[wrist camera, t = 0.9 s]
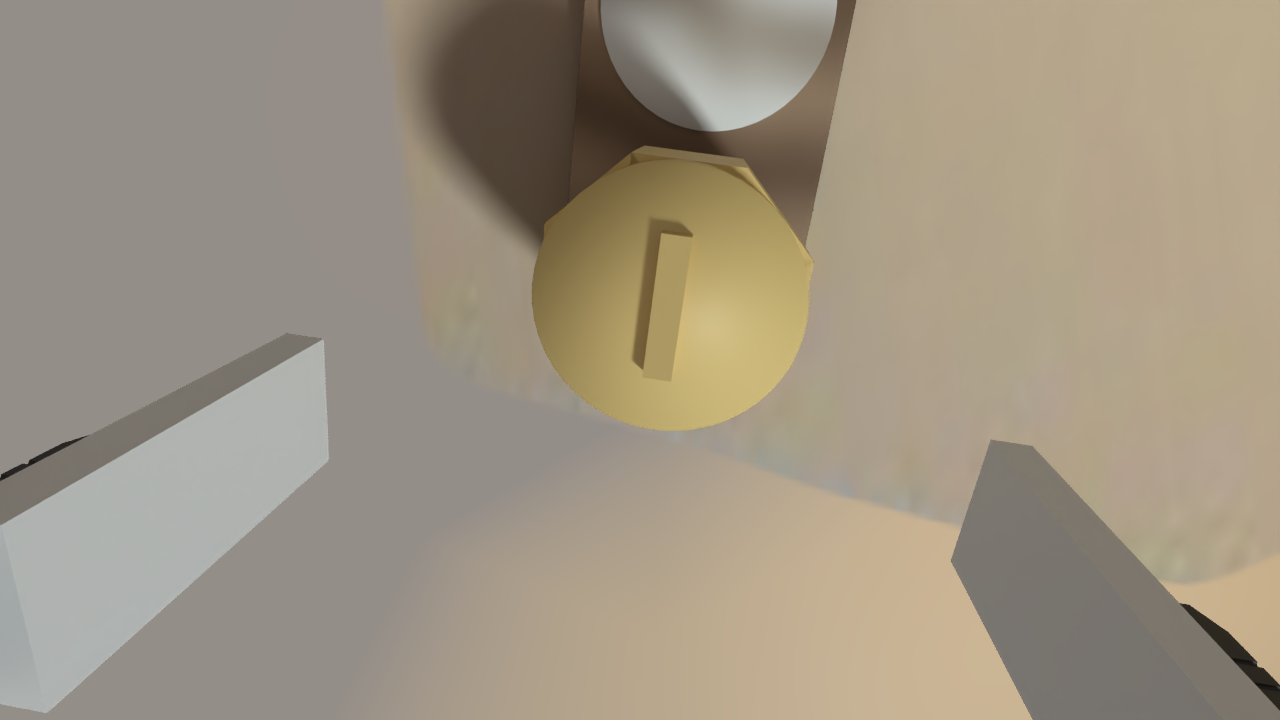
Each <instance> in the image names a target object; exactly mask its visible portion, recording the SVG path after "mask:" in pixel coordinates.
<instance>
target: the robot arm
mask: <svg viewBox="0 0 1280 720" xmlns="http://www.w3.org/2000/svg"><path fill="white" fill-rule="evenodd" d="M328 460H329V450H328V426H327V404H326V383H325V361H324V339H321V338H315V337H308V336H301V335H295V334H288V333H287V334H285V335H283V336H281V337H279V338H277V339H275V340H273V341H271V342H269V343H267V344H265V345H263V346H261V347H259V348H258V349H256V350H254V351H252V352H250V353H248V354H246V355H244V356H242V357H240V358H238V359H236V360H234V361H233V362H230V363H229V364H227V365H225V366H223V367H221V368H219V369H217V370H215V371H213V372H211V373H209V374H207V375H205V376H203V377H201V378H200V379H197V380H196V381H194V382H192V383H190V384H188V385H186V386H184V387H182V388H180V389H178V390H176V391H174V392H172V393H170V394H168V395H166V396H164V397H163V398H161V399H159V400H157V401H155V402H153V403H151V404H149V405H147V406H145V407H143V408H141V409H139V410H137V411H136V412H133V413H132V414H130V415H128V416H126V417H124V418H122V419H120V420H118V421H116V422H114V423H112V424H110V425H109V426H106V427H104V428H103V429H101V430H99V431H97V432H95V433H93V434H91V435H88V436H85V437H81V438H79V439H75V440H72V441H69V442H65V443H62V444H60V445H59V446H56V447H54V448H52V449H50V450H49V451H46V452H44V453H43V454H41V455H39V456H37V457H35V458H33V459H31V460H29V463H28V464H21V465H19V466H17V467H15V468H13V469H11V470H9V471H7V472H5V473H3V474H1V478H0V704H3V705H8V706H14V707H19V708H24V709H29V710H34V711H40V712H45V713H48V712H49V711H50V710H51V709H52V708H53V707H54V706H55V705H56V704H58V702H60V701H61V700H62V699H63V698H64V697H65V696H66V695H67V694H68V693H70V692H71V691H72V690H73V689H74V688H75V687H77V686H78V685H79V684H80V683H81V682H82V681H83V680H84V679H85V678H86V677H88V676H89V675H90V674H91V673H92V672H93V671H94V670H95V669H97V668H98V667H99V666H100V665H101V664H102V663H103V662H104V661H105V660H106V659H108V658H109V657H110V656H111V655H112V654H113V653H114V652H116V651H117V650H118V649H119V648H120V647H121V646H122V645H123V644H124V643H126V642H127V641H128V640H129V639H130V638H131V637H132V636H133V635H134V634H135V633H137V632H138V631H139V630H140V629H141V628H142V627H143V626H145V625H146V624H147V623H148V622H149V621H150V620H151V619H152V618H153V617H155V616H156V615H157V614H158V613H159V612H160V611H161V610H162V609H163V608H165V607H166V606H167V605H168V604H169V603H170V602H171V601H172V600H173V599H175V598H176V597H177V596H178V595H179V594H180V593H181V592H182V591H184V590H185V589H186V588H187V587H188V586H189V585H190V584H191V583H192V582H194V581H195V580H196V579H197V578H198V577H199V576H200V575H201V574H202V573H204V572H205V571H206V570H207V569H208V568H209V567H210V566H211V565H212V564H214V563H215V562H216V561H217V560H218V559H219V558H220V557H221V556H223V555H224V554H225V553H226V552H227V551H228V550H229V549H230V548H231V547H233V546H234V545H235V544H236V543H237V542H238V541H239V540H240V539H241V538H243V537H244V536H245V535H246V534H247V533H248V532H249V531H250V530H251V529H253V528H254V527H255V526H256V525H257V524H258V523H259V522H260V521H261V520H263V519H264V518H265V517H266V516H267V515H268V514H269V513H270V512H272V511H273V510H274V509H275V508H276V507H277V506H278V505H279V504H280V503H282V502H283V501H284V500H285V499H286V498H287V497H288V496H289V495H291V494H292V493H293V492H294V491H295V490H296V489H297V488H298V487H299V486H300V485H302V484H303V483H304V482H305V481H306V480H307V479H308V478H309V477H310V476H312V475H313V474H314V473H315V472H316V471H317V470H318V469H319V468H321V467H322V466H323V465H324V464H325V463H326V462H327V461H328ZM951 562H952V564H953V566H954V568H955V570H956V572H957V574H958V575H959V577H960V579H961V581H962V583H963V585H964V587H965V589H966V591H967V593H968V595H969V597H970V599H971V601H972V603H973V605H974V607H975V609H976V610H977V612H978V614H979V616H980V618H981V620H982V622H983V624H984V626H985V628H986V630H987V632H988V634H989V636H990V638H991V639H992V642H993V643H994V645H995V647H996V649H997V651H998V653H999V655H1000V657H1001V659H1002V661H1003V663H1004V665H1005V667H1006V669H1007V671H1008V672H1009V674H1010V676H1011V678H1012V680H1013V682H1014V684H1015V686H1016V688H1017V690H1018V692H1019V694H1020V696H1021V698H1022V700H1023V702H1024V704H1025V706H1026V707H1027V709H1028V711H1029V713H1030V715H1031V717H1032V719H1033V720H1280V685H1279V684H1278V683H1277V682H1276V681H1275V680H1274V679H1273V678H1272V677H1271V676H1270V674H1269V673H1268V672H1266V670H1265V669H1264V668H1260V667H1258V666H1257V661H1256V660H1255V659H1254V658H1253V657H1252V656H1251V655H1250V654H1249V653H1248V652H1247V651H1246V650H1245V649H1244V648H1243V647H1242V646H1241V645H1240V644H1239V643H1238V642H1237V641H1236V640H1235V639H1234V638H1233V637H1232V636H1231V635H1230V634H1229V632H1227V631H1226V630H1224V629H1223V628H1221V627H1220V626H1219V625H1217V624H1216V623H1214V622H1213V621H1211V620H1210V619H1209V618H1207V617H1206V616H1204V615H1203V614H1201V613H1200V612H1198V611H1197V610H1196V609H1194V608H1193V607H1191V606H1190V605H1187V604H1181V603H1179V602H1178V601H1177V600H1176V599H1175V598H1174V597H1173V596H1172V595H1171V594H1170V593H1169V592H1168V591H1167V590H1166V589H1165V587H1164V586H1163V585H1162V584H1161V583H1160V582H1159V581H1158V580H1157V579H1156V578H1155V577H1154V576H1153V575H1152V574H1151V572H1150V571H1149V570H1148V569H1147V568H1146V567H1145V566H1144V565H1143V564H1142V563H1141V562H1140V561H1139V560H1138V559H1137V557H1136V556H1135V555H1134V554H1133V553H1132V552H1131V551H1130V550H1129V549H1128V548H1127V547H1126V546H1125V545H1124V544H1123V543H1122V541H1121V540H1120V539H1119V538H1118V537H1117V536H1116V535H1115V534H1114V533H1113V532H1112V531H1111V530H1110V529H1109V528H1108V526H1107V525H1106V524H1105V523H1104V522H1103V521H1102V520H1101V519H1100V518H1099V517H1098V516H1097V515H1096V514H1095V513H1094V511H1093V510H1092V509H1091V508H1090V507H1089V506H1088V505H1087V504H1086V503H1085V502H1084V501H1083V500H1082V499H1081V498H1080V497H1079V495H1078V494H1077V493H1076V492H1075V491H1074V490H1073V489H1072V488H1071V487H1070V486H1069V485H1068V484H1067V483H1066V482H1065V480H1064V479H1063V478H1062V477H1061V476H1060V475H1059V474H1058V473H1057V472H1056V471H1055V470H1054V469H1053V468H1052V467H1051V465H1050V464H1049V463H1048V462H1047V461H1046V460H1045V459H1044V458H1043V457H1042V456H1041V455H1040V454H1039V453H1038V452H1037V451H1036V449H1035V448H1034V447H1033V446H1029V445H1022V444H1016V443H1009V442H1002V441H996V440H991V441H990V444H989V447H988V450H987V453H986V456H985V459H984V462H983V465H982V468H981V471H980V474H979V477H978V480H977V483H976V486H975V489H974V492H973V495H972V498H971V501H970V504H969V507H968V510H967V513H966V516H965V519H964V522H963V525H962V528H961V531H960V534H959V538H958V541H957V544H956V547H955V550H954V553H953V556H952V559H951Z"/></svg>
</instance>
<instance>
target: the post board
mask: <svg viewBox="0 0 1280 720" xmlns="http://www.w3.org/2000/svg"><path fill="white" fill-rule="evenodd" d="M855 4H856V0H585V4H584V16H583V28H582V40H581V52H580V64H579V76H578V88H577V100H576V112H575V124H574V136H573V148H572V160H571V172H570V184H569V196H568V204H569V203H570V202H571V201H572V200H573V199H574V198H575V197H576V196H577V195H578V194H579V193H581V192H582V191H583V190H585V189H586V188H588V187H589V186H590V185H592V184H593V183H594V182H596V181H597V180H598V179H599V178H601V177H602V176H603V175H604V174H605V173H607V172H608V171H609V170H610V169H612V168H613V167H614V166H615V165H616V164H618V163H619V162H620V161H621V160H623V159H624V158H625V157H626V156H627V155H629V154H630V153H631V152H633V151H635V150H637V149H639V148H641V147H643V146H652V147H659V148H667V149H674V150H682V151H689V152H697V153H704V154H712V155H719V156H727V157H734V158H741V159H744V160H745V162H746V163H747V164H748V166H749V167H750V169H751V170H752V171H753V173H754V174H755V176H756V177H757V179H758V180H759V181H760V183H761V184H762V186H763V187H764V188H765V190H766V191H767V193H768V194H769V196H770V197H771V198H772V200H773V201H774V203H775V204H776V205H777V207H778V208H779V210H780V211H781V213H782V214H783V215H784V217H785V218H786V220H787V221H788V222H789V224H790V225H791V227H792V228H793V230H794V231H795V232H796V234H797V235H798V237H799V238H800V239H801V241H802V243H803V244H804V246H805V245H806V240H807V235H808V230H809V225H810V221H811V216H812V211H813V206H814V201H815V197H816V192H817V187H818V182H819V177H820V173H821V168H822V163H823V158H824V153H825V149H826V144H827V139H828V134H829V129H830V124H831V120H832V115H833V110H834V105H835V100H836V96H837V91H838V86H839V81H840V76H841V72H842V67H843V62H844V57H845V52H846V47H847V43H848V38H849V33H850V28H851V23H852V19H853V14H854V9H855Z"/></svg>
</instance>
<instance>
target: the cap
mask: <svg viewBox="0 0 1280 720" xmlns="http://www.w3.org/2000/svg"><path fill="white" fill-rule="evenodd" d="M813 264H814V261H813V259H812V257H811V256H810V254H809V252H808V251H807V249H806V248H805V246H804V244H803V243H802V241H801V239H800V238H799V237H798V235H797V234H796V232H795V231H794V230H793V228H792V227H791V225H790V224H789V222H788V221H787V220H786V218H785V217H784V215H783V214H782V213H781V211H780V210H779V208H778V207H777V205H776V204H775V203H774V201H773V200H772V198H771V197H770V196H769V194H768V193H767V191H766V190H765V188H764V187H763V186H762V184H761V183H760V181H759V180H758V179H757V177H756V176H755V174H754V173H753V171H752V170H751V169H750V167H749V166H748V164H747V163H746V162H745V160H744V159H741V158H734V157H727V156H719V155H712V154H704V153H697V152H689V151H682V150H674V149H667V148H659V147H652V146H643V147H641V148H639V149H637V150H635V151H633V152H631V153H630V154H629V155H627V156H626V157H625V158H624V159H623V160H621V161H620V162H619V163H618V164H616V165H615V166H614V167H613V168H612V169H610V170H609V171H608V172H607V173H605V174H604V175H603V176H602V177H601V178H599V179H598V180H597V181H596V182H594V183H593V184H592V185H590V186H589V187H588V188H586V189H585V190H583V191H582V192H581V193H579V194H578V195H577V196H576V197H575V198H574V199H573V200H572V201H571V202H570V203H569V204H568V205H566V206H565V207H564V208H563V209H561V210H560V211H559V212H558V213H557V214H555V215H554V216H553V217H552V218H550V219H549V220H548V221H547V222H545V223H544V236H543V243H542V246H541V248H540V250H539V253H538V257H537V261H536V264H535V268H534V275H533V282H532V306H533V314H534V321H535V324H536V328H537V332H538V336H539V338H540V341H541V343H542V346H543V348H544V351H545V353H546V355H547V356H548V358H549V360H550V362H551V363H552V365H553V367H554V368H555V370H556V371H557V372H558V374H559V375H560V376H561V378H562V379H563V380H564V381H565V383H566V384H567V385H568V386H569V387H570V388H571V389H572V390H573V391H574V392H575V393H576V394H577V395H579V396H580V397H581V398H582V399H583V400H585V401H586V402H587V403H588V404H590V405H591V406H593V407H594V408H596V409H598V410H599V411H601V412H602V413H604V414H606V415H608V416H610V417H612V418H615V419H617V420H619V421H622V422H625V423H628V424H631V425H633V426H638V427H642V428H647V429H653V430H663V431H684V430H691V429H698V428H703V427H707V426H711V425H715V424H718V423H720V422H723V421H725V420H728V419H730V418H733V417H735V416H737V415H738V414H740V413H742V412H744V411H746V410H747V409H749V408H750V407H752V406H753V405H754V404H756V403H757V402H759V401H760V400H761V399H762V398H764V397H765V396H766V395H767V394H768V393H769V392H770V391H771V390H772V389H773V388H774V387H775V386H776V385H777V383H778V382H779V381H780V380H781V378H782V377H783V376H784V375H785V373H786V372H787V370H788V369H789V368H791V367H792V362H793V360H794V359H795V356H796V354H797V352H798V350H799V347H800V345H801V343H802V339H803V336H804V333H805V329H806V325H807V319H808V312H809V283H810V278H811V273H812V269H813Z"/></svg>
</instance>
